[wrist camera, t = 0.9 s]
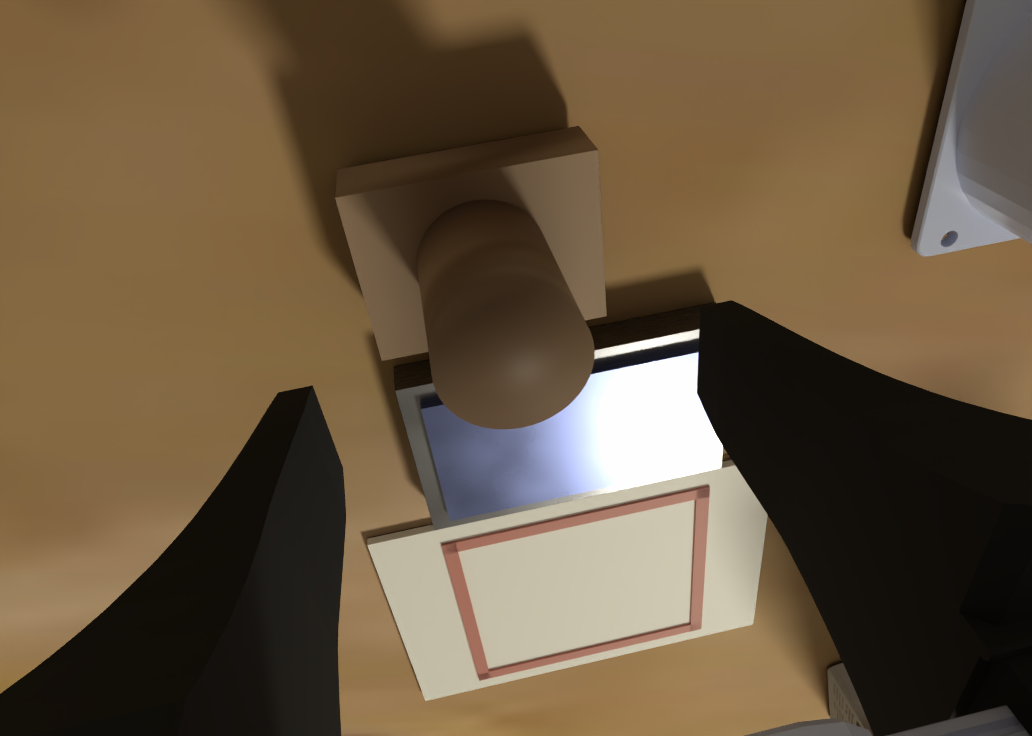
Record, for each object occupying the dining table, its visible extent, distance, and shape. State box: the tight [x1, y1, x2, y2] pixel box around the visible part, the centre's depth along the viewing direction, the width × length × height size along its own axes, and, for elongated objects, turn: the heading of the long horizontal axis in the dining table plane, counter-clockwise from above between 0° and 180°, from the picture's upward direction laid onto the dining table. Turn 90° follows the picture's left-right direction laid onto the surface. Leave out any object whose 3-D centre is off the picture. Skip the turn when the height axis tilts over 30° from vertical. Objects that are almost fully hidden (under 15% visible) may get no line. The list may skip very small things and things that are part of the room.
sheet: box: [367, 460, 768, 701], centre depth 29 cm, size 15×10×1 cm
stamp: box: [335, 126, 607, 429], centre depth 16 cm, size 6×4×7 cm
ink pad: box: [394, 302, 723, 530], centre depth 23 cm, size 10×6×2 cm, turn 97°
